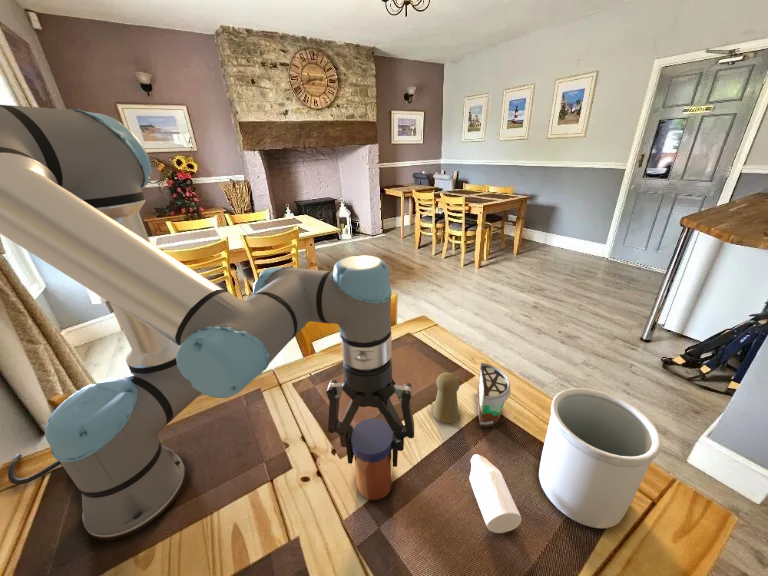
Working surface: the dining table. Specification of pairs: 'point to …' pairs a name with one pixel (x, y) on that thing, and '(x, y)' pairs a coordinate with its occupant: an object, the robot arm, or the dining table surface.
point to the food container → (491, 394)
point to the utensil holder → (595, 455)
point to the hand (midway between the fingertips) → (373, 458)
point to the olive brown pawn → (446, 398)
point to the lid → (371, 440)
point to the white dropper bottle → (493, 496)
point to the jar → (374, 477)
